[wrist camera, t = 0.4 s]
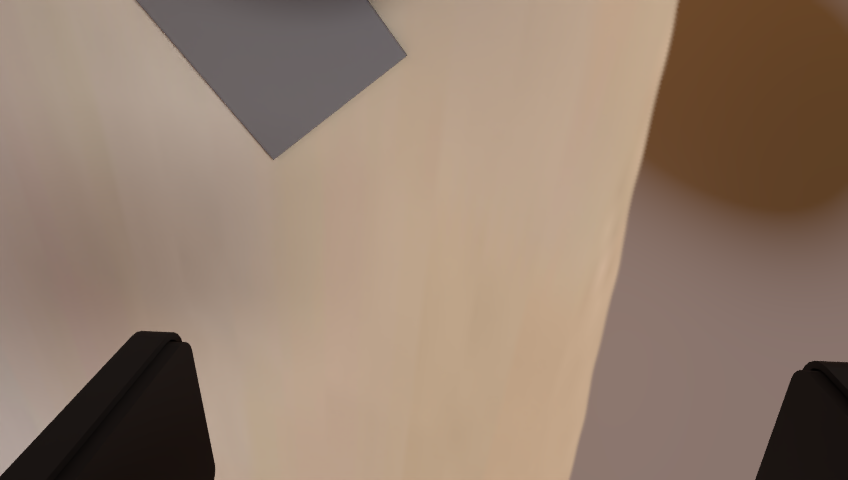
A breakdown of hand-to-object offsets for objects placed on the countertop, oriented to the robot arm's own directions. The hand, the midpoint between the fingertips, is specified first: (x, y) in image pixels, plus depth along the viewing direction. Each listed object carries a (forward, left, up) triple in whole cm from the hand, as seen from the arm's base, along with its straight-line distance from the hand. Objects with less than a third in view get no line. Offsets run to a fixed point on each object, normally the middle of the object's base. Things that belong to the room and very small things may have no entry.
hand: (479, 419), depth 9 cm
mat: (+7, -12, -28) cm, 31 cm away
